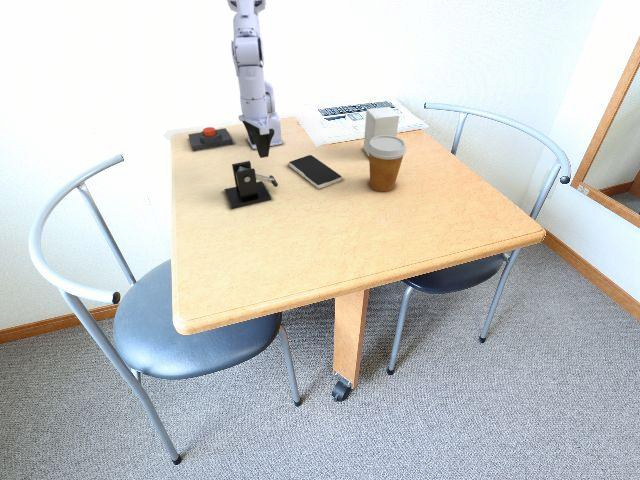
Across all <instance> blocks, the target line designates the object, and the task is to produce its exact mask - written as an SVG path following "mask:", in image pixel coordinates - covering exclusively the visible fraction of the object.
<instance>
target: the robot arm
mask: <svg viewBox="0 0 640 480" xmlns="http://www.w3.org/2000/svg"><path fill="white" fill-rule="evenodd" d="M226 2H227V5H228V7H229V9H230V10H231V11H232V12H235V14H234V16H233V19H232V25H233V27H232V28H233V40H230V41H231V42H230V48H231V50H230V51H231V57H232V62H233V65H234V69H235V74H236V77H237V80H238V82H237V83H238V87H239V99H240V100H239V101H240V108H241V113H242V114H240V115H238V116H237V118H238V120H239V122H242V124H243V126H244V128H245V130H246V133H247V136H248V137H247V138H246V140H247V142H248V143H249V145H250V146H251V148H252V150H256V151H257V154H258V156H259V159H263V158H268V157H269V155H270V148H271V147H274V146H279V145H282V144H283V141H282V139H283V138H282V128H281V119H280V116H279V114H278V112H276V102H275V93H274V87H273V85H272V84H271V83H270V82H269V81H267V80H265V75H264V66H265V55H264V52H265V51H264V43H263V39H262V36H261V29H260V28H261V27H260V19H259V14H260V12H262V11H264V10H266V6H267V1H266V0H226Z"/></svg>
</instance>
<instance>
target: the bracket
mask: <svg viewBox="0 0 640 480" xmlns="http://www.w3.org/2000/svg"><path fill="white" fill-rule="evenodd" d="M239 166H241V167H245V168H249V169H248V170H243V171H238V169H239ZM231 168H232V173H233V179H234V184H235V186H233V187H228V188H223V189H224V194H225V196H226V198H227V201H228V204H229V206H230V208H231V210H233V209H237V208H241V207H245V206H246V207H247V206H250V205H254V204H255V205H256V204H259V203H263V202H267V201H268V202H269V201H271V200H272V196H271V194H270V192H269V191H268V189H267V188H266V187H267V186H266V185H265V184H264V181H261V180H259V181H257V179H256V175H255V174H256V169H255V168H252V163H251V161H250V160H246V161H241V162H236V163H232V164H231ZM237 171H238V172H237Z"/></svg>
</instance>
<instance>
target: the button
mask: <svg viewBox="0 0 640 480" xmlns="http://www.w3.org/2000/svg"><path fill="white" fill-rule="evenodd" d="M215 130H216V128H215V127H214V126H209V127H208V126H207V127H205V128H203V129H202V131H203V133H204V136H205V137H211V136H214V135H216V132H215Z"/></svg>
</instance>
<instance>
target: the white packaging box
mask: <svg viewBox="0 0 640 480" xmlns="http://www.w3.org/2000/svg"><path fill="white" fill-rule="evenodd" d="M399 120H400V115H399V114H398V113H397V112H396V111H395V110H394V109H393V108H392V107H391V106H385V107H384V106H383V107H382V106H381V107H373V108H366V111H365V125H364V138H363V151H364V152H365V153H366V155H367V157H369V151H368V148H367V146H368V144H369V142H370V140H371V139H372V138H374V137H376V136H382V135H388V136H395V137H398V135H397V134H398V128H399V127H398V126H399Z"/></svg>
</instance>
